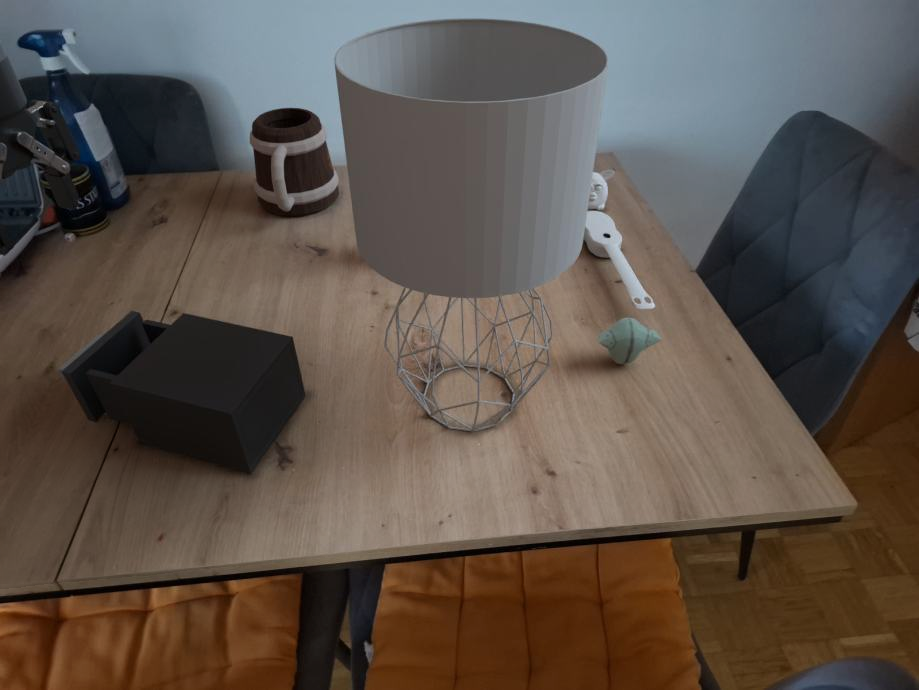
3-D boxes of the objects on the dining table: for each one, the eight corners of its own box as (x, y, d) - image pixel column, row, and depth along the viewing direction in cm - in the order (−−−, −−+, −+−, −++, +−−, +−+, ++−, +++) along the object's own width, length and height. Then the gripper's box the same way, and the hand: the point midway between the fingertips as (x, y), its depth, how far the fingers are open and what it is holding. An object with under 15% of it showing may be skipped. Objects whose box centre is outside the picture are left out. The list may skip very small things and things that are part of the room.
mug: (267, 180, 123) (250, 102, 113) (345, 179, 123) (335, 101, 113) (242, 234, 108) (220, 149, 98) (331, 233, 108) (318, 148, 98)
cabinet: (139, 443, 73) (109, 383, 66) (204, 371, 82) (183, 312, 76) (251, 474, 69) (230, 414, 63) (306, 396, 78) (293, 336, 72)
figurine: (569, 213, 113) (573, 179, 109) (561, 196, 118) (565, 162, 114) (613, 211, 114) (619, 176, 110) (603, 194, 119) (608, 160, 114)
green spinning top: (594, 373, 82) (602, 332, 77) (588, 352, 85) (595, 312, 80) (656, 371, 82) (667, 330, 78) (647, 350, 85) (657, 310, 81)
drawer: (58, 412, 75) (29, 363, 70) (124, 351, 83) (102, 304, 78) (187, 447, 71) (166, 398, 66) (243, 380, 79) (228, 331, 74)
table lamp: (338, 404, 77) (276, 58, 51) (456, 317, 90) (455, 6, 64) (482, 503, 66) (496, 128, 40) (593, 388, 80) (658, 48, 54)
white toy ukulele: (662, 322, 90) (667, 306, 88) (623, 325, 89) (626, 309, 87) (604, 222, 111) (607, 208, 109) (572, 224, 110) (574, 209, 108)
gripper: (-10, 31, 59) (61, 190, 70) (-164, 80, 49) (-54, 258, 60) (55, 38, 58) (118, 200, 68) (-91, 91, 47) (9, 272, 58)
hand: (37, 227), depth 64 cm, fingers open, 8 cm apart
